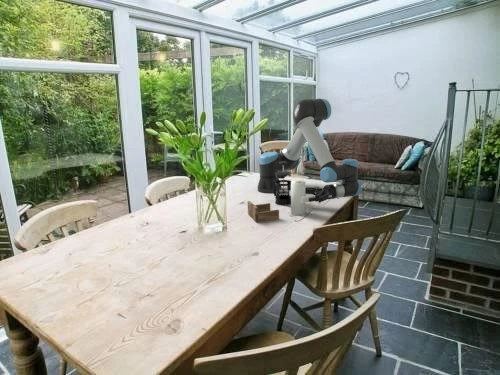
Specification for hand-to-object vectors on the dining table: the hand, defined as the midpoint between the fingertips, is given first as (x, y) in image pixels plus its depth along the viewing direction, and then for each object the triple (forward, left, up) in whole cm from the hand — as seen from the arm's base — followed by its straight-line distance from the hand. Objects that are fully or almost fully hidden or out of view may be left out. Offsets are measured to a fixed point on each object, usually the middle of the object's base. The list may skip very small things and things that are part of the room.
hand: (295, 196), depth 166 cm
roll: (0, +2, -9) cm, 9 cm away
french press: (-19, +2, -9) cm, 21 cm away
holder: (-2, -16, -9) cm, 19 cm away
